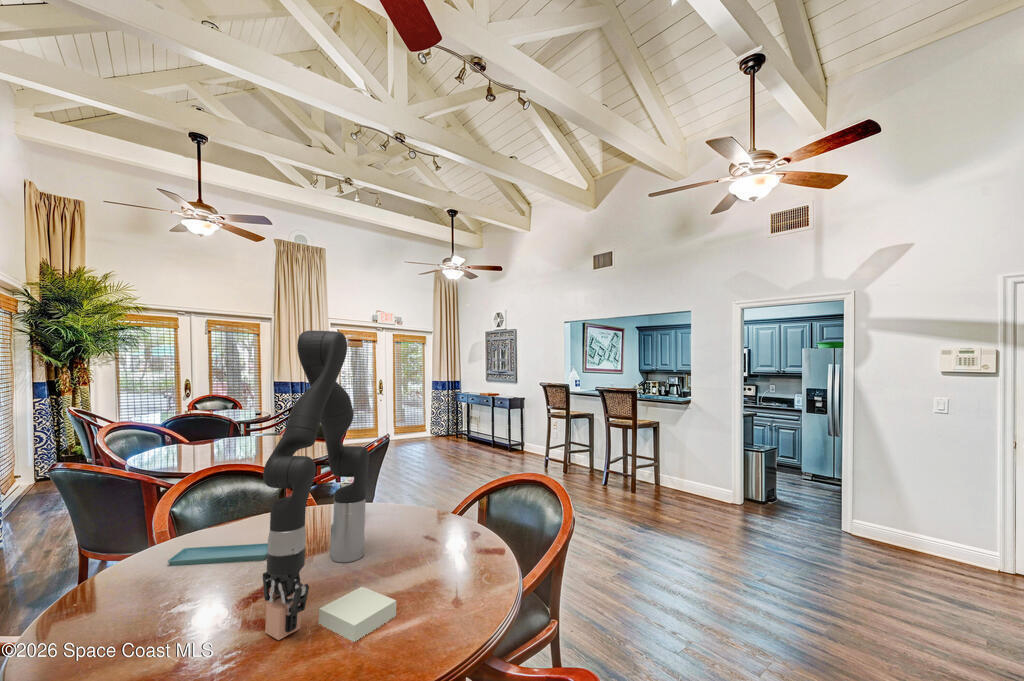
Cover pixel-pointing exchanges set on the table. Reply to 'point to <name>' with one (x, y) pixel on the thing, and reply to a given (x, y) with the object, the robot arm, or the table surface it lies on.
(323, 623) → the sage base block
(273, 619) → the terracotta block
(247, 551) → the teal serving tray
